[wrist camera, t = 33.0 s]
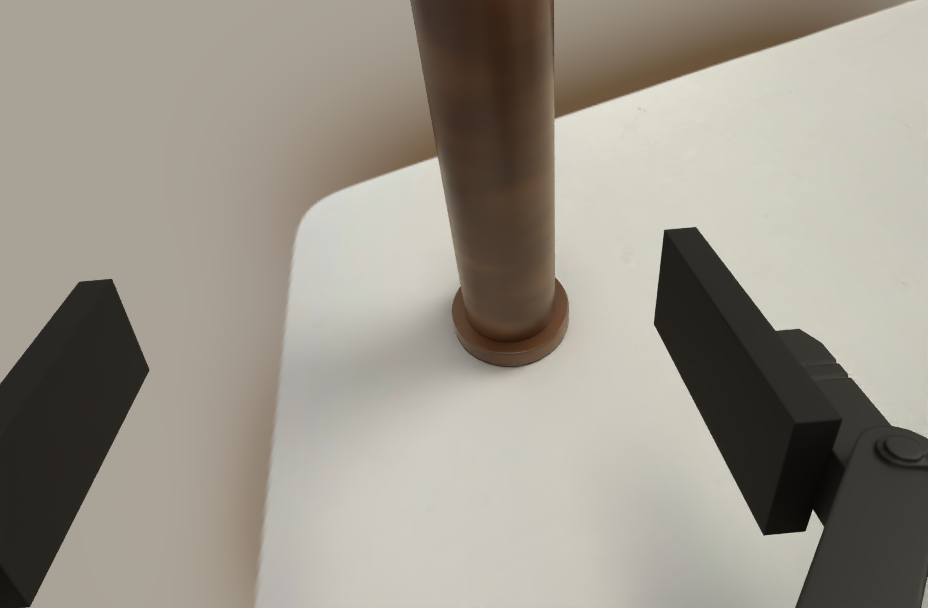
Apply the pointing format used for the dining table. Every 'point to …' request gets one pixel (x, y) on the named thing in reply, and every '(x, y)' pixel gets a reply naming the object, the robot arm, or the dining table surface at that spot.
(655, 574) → the dining table surface
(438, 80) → the brown wooden cylinder
